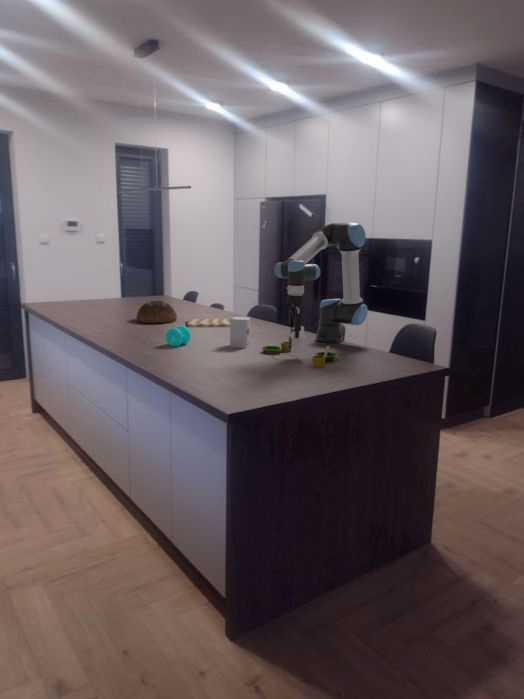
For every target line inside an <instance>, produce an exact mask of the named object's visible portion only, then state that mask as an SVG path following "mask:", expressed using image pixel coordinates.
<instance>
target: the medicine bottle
mask: <svg viewBox="0 0 524 699" xmlns="http://www.w3.org/2000/svg"><path fill="white" fill-rule="evenodd" d="M293 330H294V325H293V326H292V328H291V334H289V333H288V342H289V350H290V353H306V352H307V336H306V335H305V326H304V325H302V324H301V331H300V335H299V345H293V332H294V331H293Z"/></svg>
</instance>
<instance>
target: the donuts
mask: <svg viewBox="0 0 524 699" xmlns="http://www.w3.org/2000/svg"><path fill="white" fill-rule="evenodd" d="M190 340H191V332H190V330H189V329H188V327H186V326H185V325H179V326H177V327H170V328H169V329H167V330H166V331H165V341H166V343H167V344H168V345H169V346H170V347H173V346H176V347H179V346H181V345H187V344H188V343H189V342H190Z"/></svg>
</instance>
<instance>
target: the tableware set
mask: <svg viewBox="0 0 524 699" xmlns="http://www.w3.org/2000/svg"><path fill="white" fill-rule="evenodd" d="M330 349H331V347H330V346H329V345H327V346H326V348H325V351H319V352H318V351H317V352H315V353H314V354H315V355H313V356H311V361H312V366H313V367H314V368H324V367H325V363H331V364H337V363H339V362H340V360H339V358H336V357H337V353H335V352H331V351H330ZM261 350H262V351H263V353H265V354H266V355H267V354H268V355H272V356H270V357H271V359H273V360H277V361H281V359H279V358H274V357H276V356H289V354H286V352H287V353H288V351H290V350H289V341H281V342H280V346H277V345H265V346H264V345H263V346H262V347H261ZM281 351H282V352H284V351H285V354H284V353H283V354H280V353H281ZM290 352H291V351H290ZM290 355H291V357H294V356H295V359H293V358H292V361H295V360H298V359H299V357H298V355H295V354H290ZM335 359H336V360H335ZM333 360H335V361H333ZM331 361H332V362H331ZM336 362H337V363H336Z"/></svg>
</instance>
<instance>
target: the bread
mask: <svg viewBox="0 0 524 699" xmlns="http://www.w3.org/2000/svg"><path fill="white" fill-rule="evenodd" d="M177 319H178V316H177V313H176V310H175V309H174V308H173V306H172V305H170V304H169V303H168V302H164V301H162V300H151V301H148V302H145V303H144V304H142V305H141V307H139V309H138V311H137V314H136V321H138V323H144V324H169V323H173V322H175V321H176V320H177Z"/></svg>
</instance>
